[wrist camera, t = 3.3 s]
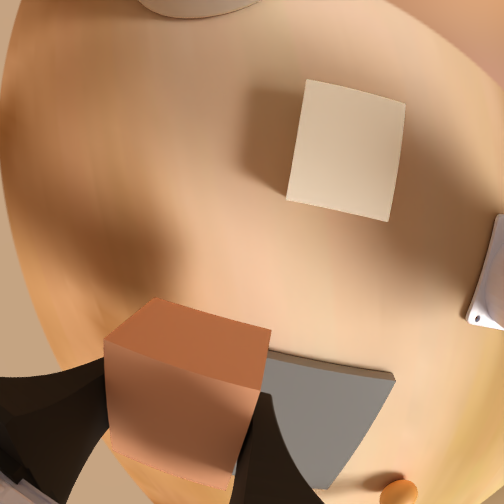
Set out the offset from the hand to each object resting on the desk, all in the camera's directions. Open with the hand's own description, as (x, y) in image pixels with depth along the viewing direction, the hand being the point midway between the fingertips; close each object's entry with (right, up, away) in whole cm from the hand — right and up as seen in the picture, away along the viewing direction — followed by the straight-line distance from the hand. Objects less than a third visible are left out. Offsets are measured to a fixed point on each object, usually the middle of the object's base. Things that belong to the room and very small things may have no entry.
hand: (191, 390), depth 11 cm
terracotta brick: (0, 0, +1) cm, 1 cm away
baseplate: (+4, -8, +10) cm, 13 cm away
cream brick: (+7, +11, +5) cm, 15 cm away
